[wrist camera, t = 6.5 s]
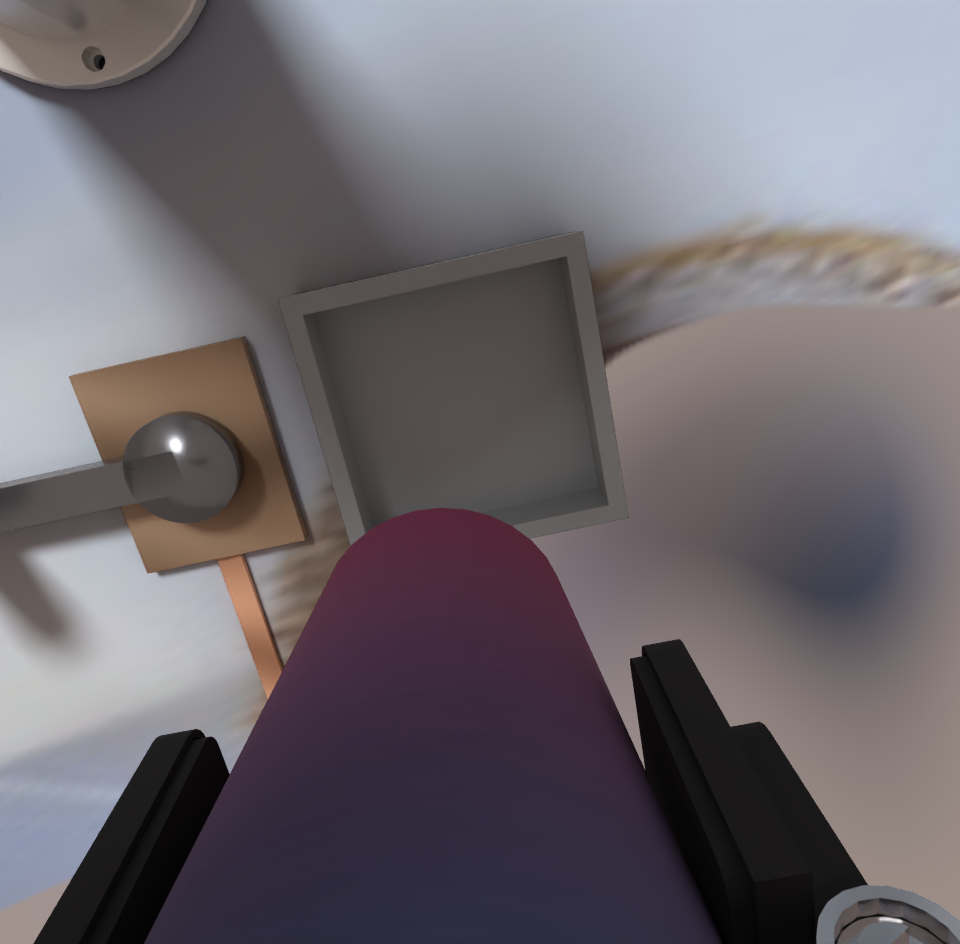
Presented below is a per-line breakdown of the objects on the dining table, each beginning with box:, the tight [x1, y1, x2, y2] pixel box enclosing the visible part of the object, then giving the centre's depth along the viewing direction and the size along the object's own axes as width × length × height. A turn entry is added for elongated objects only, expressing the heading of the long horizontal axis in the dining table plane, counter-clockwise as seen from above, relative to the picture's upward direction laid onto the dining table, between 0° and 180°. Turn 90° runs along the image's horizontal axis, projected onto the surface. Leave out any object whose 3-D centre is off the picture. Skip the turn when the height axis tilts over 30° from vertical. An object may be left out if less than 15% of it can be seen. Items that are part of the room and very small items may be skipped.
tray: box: [278, 231, 629, 545], centre depth 32 cm, size 13×13×3 cm
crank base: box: [69, 337, 307, 698], centre depth 35 cm, size 21×8×1 cm, turn 12°
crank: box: [0, 411, 244, 533], centre depth 30 cm, size 16×5×7 cm, turn 102°
